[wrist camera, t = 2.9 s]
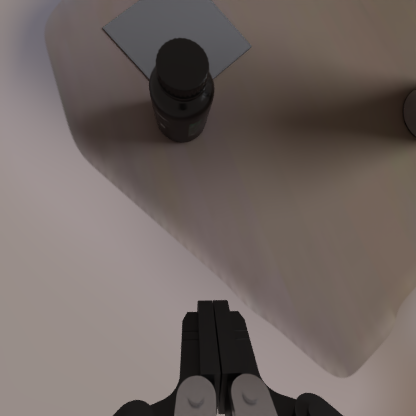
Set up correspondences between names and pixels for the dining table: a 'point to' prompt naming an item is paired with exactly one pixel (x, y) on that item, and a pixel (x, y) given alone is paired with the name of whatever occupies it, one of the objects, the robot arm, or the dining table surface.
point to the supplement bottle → (181, 89)
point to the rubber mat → (176, 32)
